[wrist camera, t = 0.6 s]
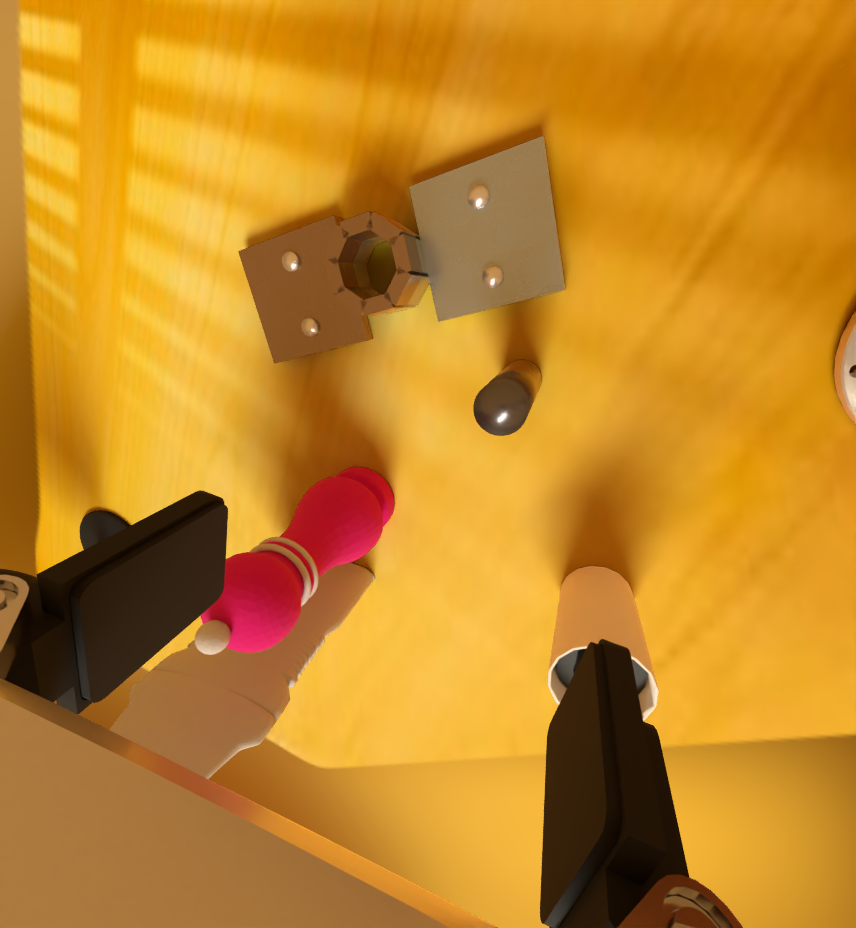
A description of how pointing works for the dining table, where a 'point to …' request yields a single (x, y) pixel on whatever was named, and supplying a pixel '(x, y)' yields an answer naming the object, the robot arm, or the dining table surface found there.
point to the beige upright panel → (233, 684)
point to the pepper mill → (295, 562)
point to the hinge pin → (508, 398)
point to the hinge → (413, 256)
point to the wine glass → (85, 536)
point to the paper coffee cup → (599, 629)
